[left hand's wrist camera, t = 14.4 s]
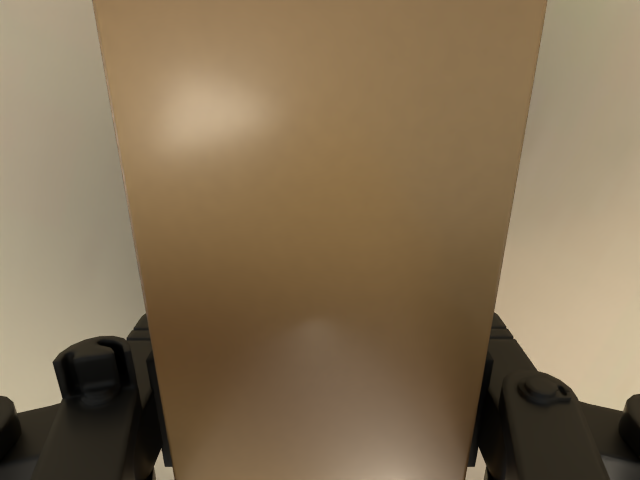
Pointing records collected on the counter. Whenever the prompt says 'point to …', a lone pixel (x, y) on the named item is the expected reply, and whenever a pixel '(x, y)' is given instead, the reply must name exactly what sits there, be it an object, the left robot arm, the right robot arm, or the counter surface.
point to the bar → (319, 222)
